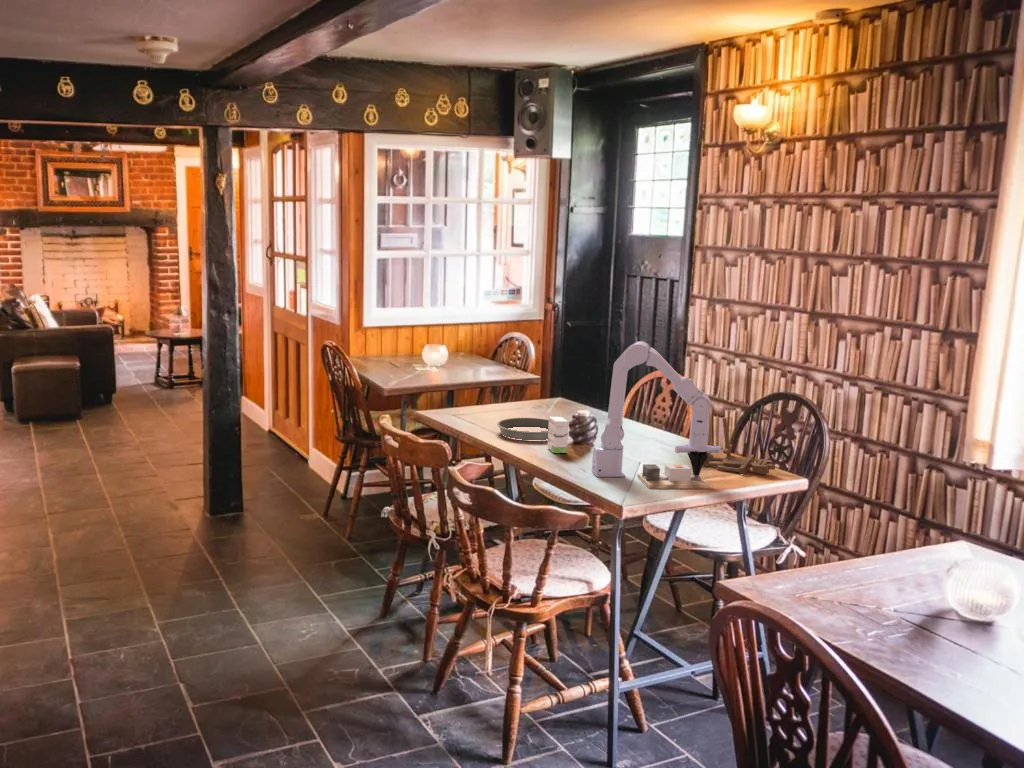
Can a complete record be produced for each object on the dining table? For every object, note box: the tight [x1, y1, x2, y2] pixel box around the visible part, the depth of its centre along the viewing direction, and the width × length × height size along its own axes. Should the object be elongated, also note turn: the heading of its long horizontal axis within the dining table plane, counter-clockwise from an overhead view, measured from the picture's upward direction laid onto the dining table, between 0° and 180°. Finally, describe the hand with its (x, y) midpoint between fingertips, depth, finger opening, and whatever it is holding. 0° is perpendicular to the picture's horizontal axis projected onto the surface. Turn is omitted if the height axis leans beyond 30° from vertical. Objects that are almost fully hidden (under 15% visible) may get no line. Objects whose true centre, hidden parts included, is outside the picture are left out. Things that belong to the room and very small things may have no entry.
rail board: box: [637, 463, 709, 489], centre depth 299 cm, size 19×13×5 cm
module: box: [664, 464, 692, 481], centre depth 299 cm, size 7×5×4 cm
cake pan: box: [496, 417, 549, 440], centre depth 358 cm, size 25×25×4 cm
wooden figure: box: [703, 416, 776, 475], centre depth 316 cm, size 14×18×25 cm
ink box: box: [547, 416, 569, 454], centre depth 334 cm, size 9×5×12 cm, turn 15°
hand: (695, 474), depth 300 cm, fingers closed
